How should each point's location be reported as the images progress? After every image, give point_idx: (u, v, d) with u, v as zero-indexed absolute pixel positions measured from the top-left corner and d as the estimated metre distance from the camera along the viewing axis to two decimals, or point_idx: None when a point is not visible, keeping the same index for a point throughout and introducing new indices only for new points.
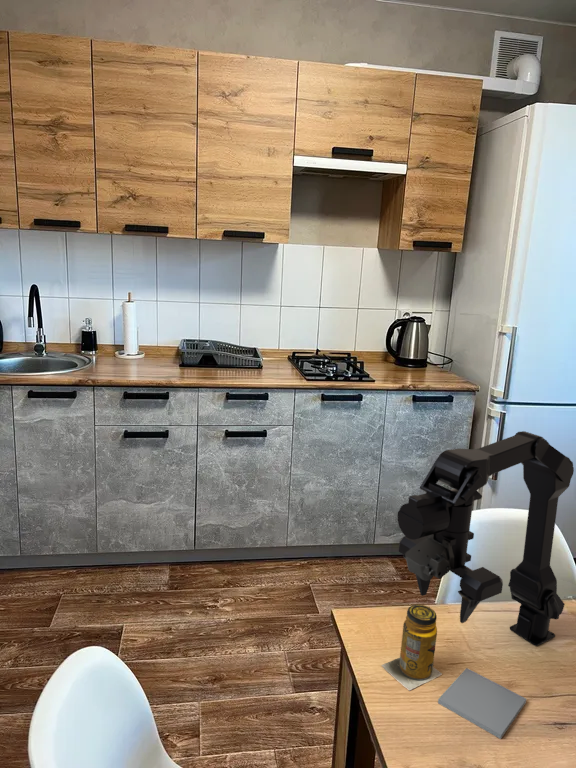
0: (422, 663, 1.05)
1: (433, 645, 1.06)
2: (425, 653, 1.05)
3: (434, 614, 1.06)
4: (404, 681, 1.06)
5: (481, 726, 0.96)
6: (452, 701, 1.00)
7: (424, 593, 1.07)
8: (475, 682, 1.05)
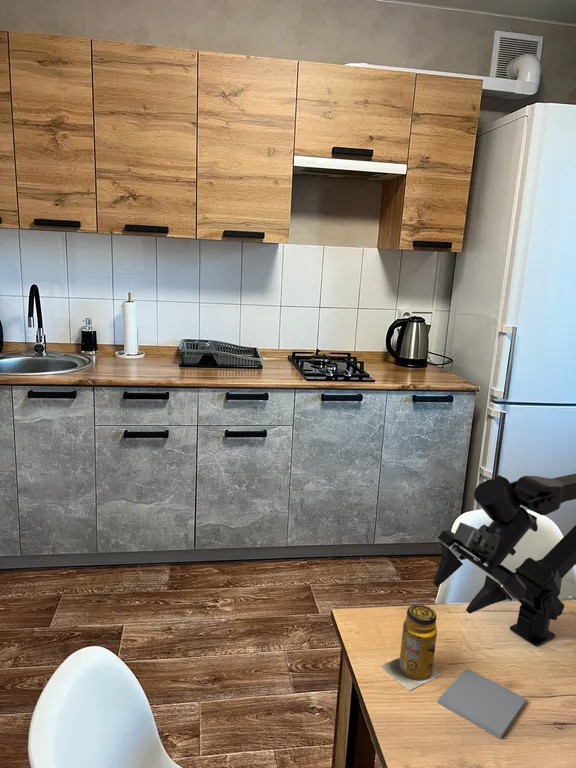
0: (422, 663, 1.05)
1: (433, 645, 1.06)
2: (425, 653, 1.05)
3: (434, 614, 1.06)
4: (404, 681, 1.06)
5: (481, 726, 0.96)
6: (452, 701, 1.00)
7: (436, 584, 1.13)
8: (475, 682, 1.05)
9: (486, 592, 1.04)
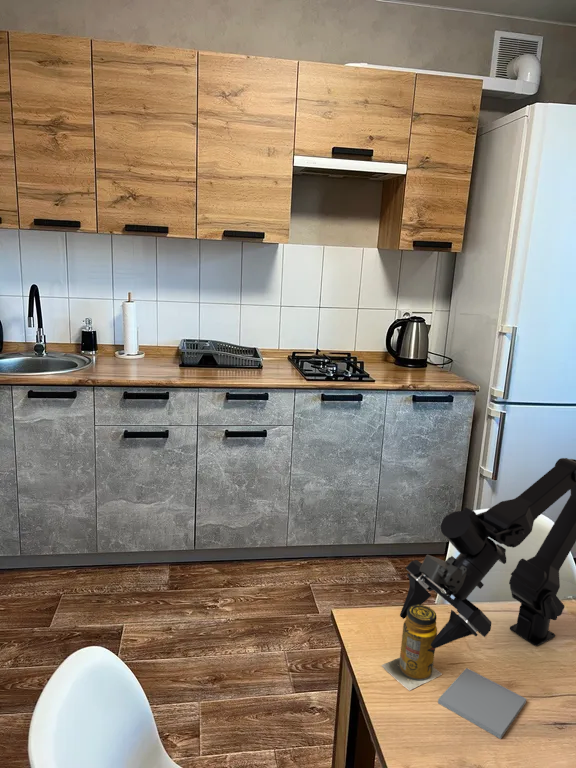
0: (422, 664, 1.05)
1: None
2: (425, 653, 1.05)
3: (434, 614, 1.06)
4: (404, 681, 1.06)
5: (481, 726, 0.96)
6: (452, 701, 1.00)
7: (403, 616, 1.11)
8: (475, 682, 1.05)
9: (451, 627, 1.02)
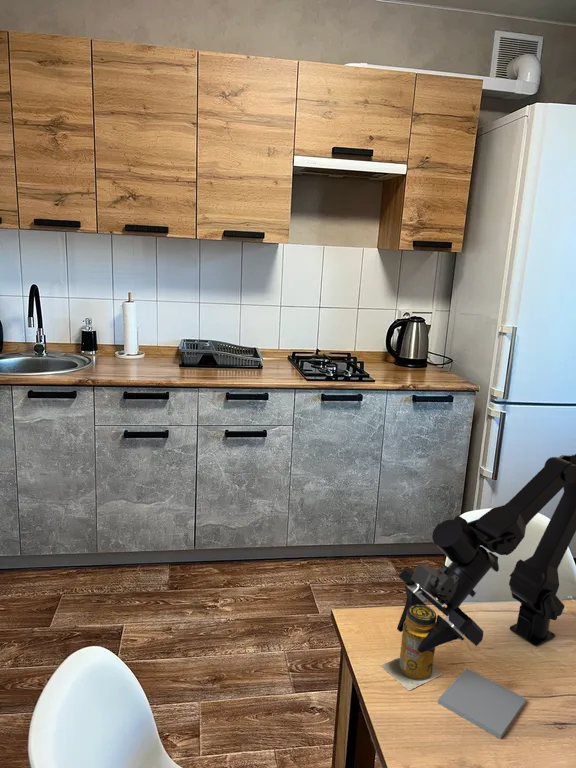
0: (422, 663, 1.05)
1: None
2: (425, 652, 1.05)
3: (434, 614, 1.06)
4: (404, 681, 1.06)
5: (481, 726, 0.96)
6: (452, 701, 1.00)
7: (400, 629, 1.09)
8: (475, 682, 1.05)
9: (437, 632, 1.03)
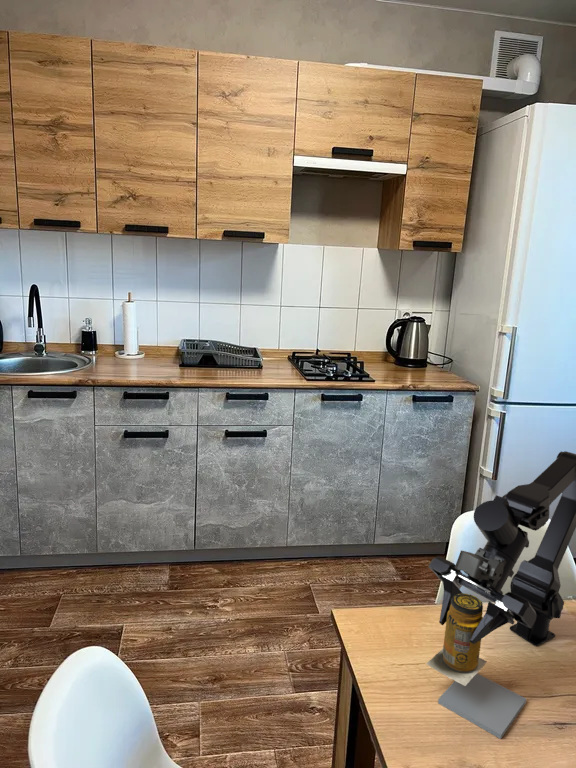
0: (472, 655, 1.00)
1: None
2: (475, 643, 0.99)
3: (479, 601, 1.01)
4: (455, 677, 0.99)
5: (481, 726, 0.96)
6: (452, 701, 1.00)
7: (443, 622, 1.03)
8: (475, 682, 1.05)
9: (490, 619, 0.97)
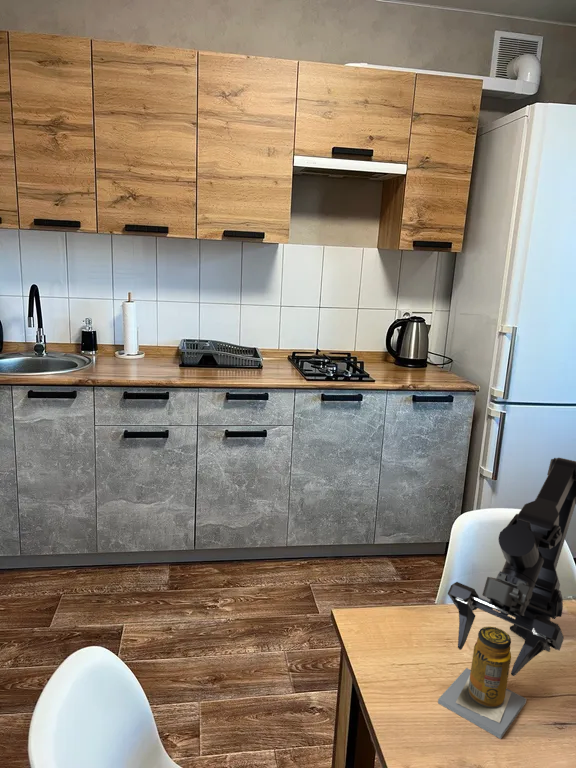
0: (502, 689, 0.99)
1: None
2: (505, 677, 0.99)
3: (506, 634, 1.00)
4: (487, 713, 0.98)
5: (481, 726, 0.96)
6: (452, 701, 1.00)
7: (461, 647, 1.02)
8: None
9: (530, 650, 0.96)
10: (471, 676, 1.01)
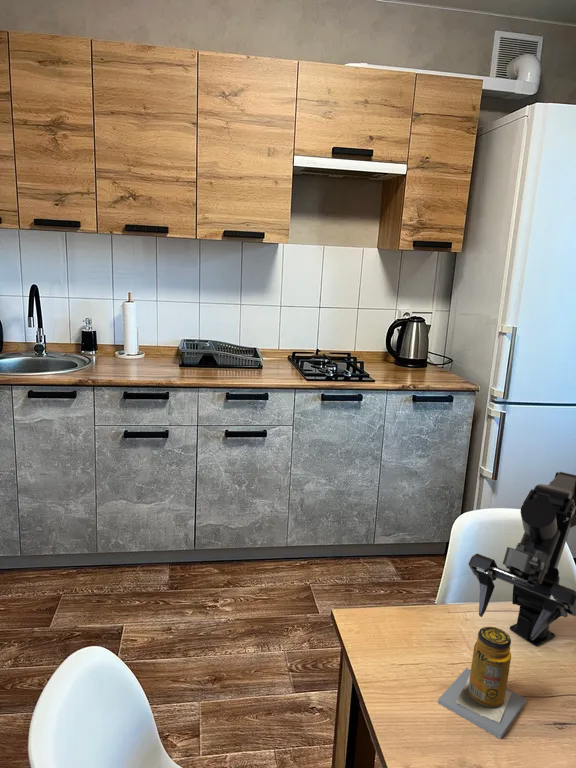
0: (502, 689, 0.99)
1: (509, 666, 1.00)
2: (505, 677, 0.99)
3: (506, 634, 1.00)
4: (487, 713, 0.98)
5: (481, 726, 0.96)
6: (452, 701, 1.00)
7: (482, 614, 1.07)
8: None
9: (548, 615, 1.01)
10: (471, 676, 1.01)
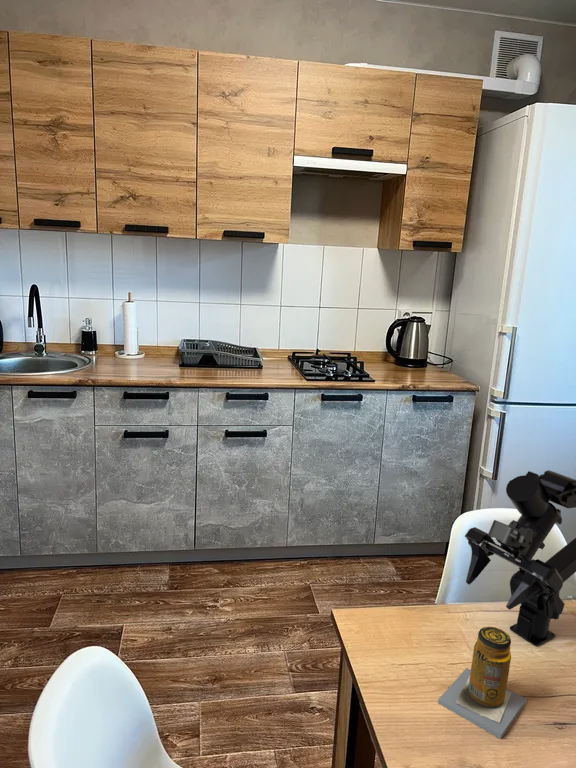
0: (502, 689, 0.99)
1: None
2: (505, 677, 0.99)
3: (506, 634, 1.00)
4: (487, 713, 0.98)
5: (481, 726, 0.96)
6: (452, 701, 1.00)
7: (469, 582, 1.14)
8: None
9: (526, 587, 1.05)
10: (471, 676, 1.01)
